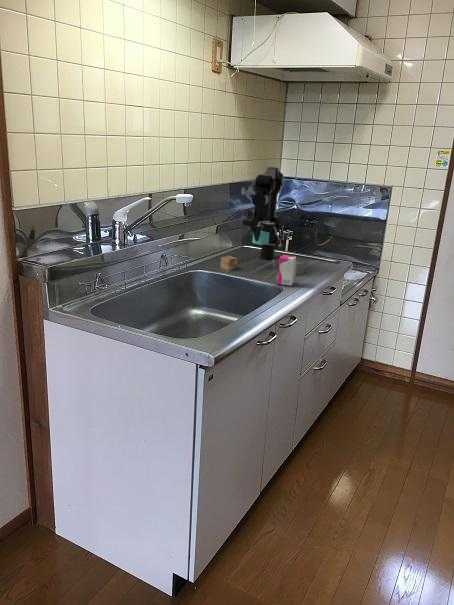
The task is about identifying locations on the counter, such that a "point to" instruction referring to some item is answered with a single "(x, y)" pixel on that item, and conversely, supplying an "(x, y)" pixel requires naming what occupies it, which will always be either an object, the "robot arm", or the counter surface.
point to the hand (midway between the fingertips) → (260, 240)
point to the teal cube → (262, 238)
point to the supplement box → (286, 270)
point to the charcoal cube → (299, 268)
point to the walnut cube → (228, 263)
